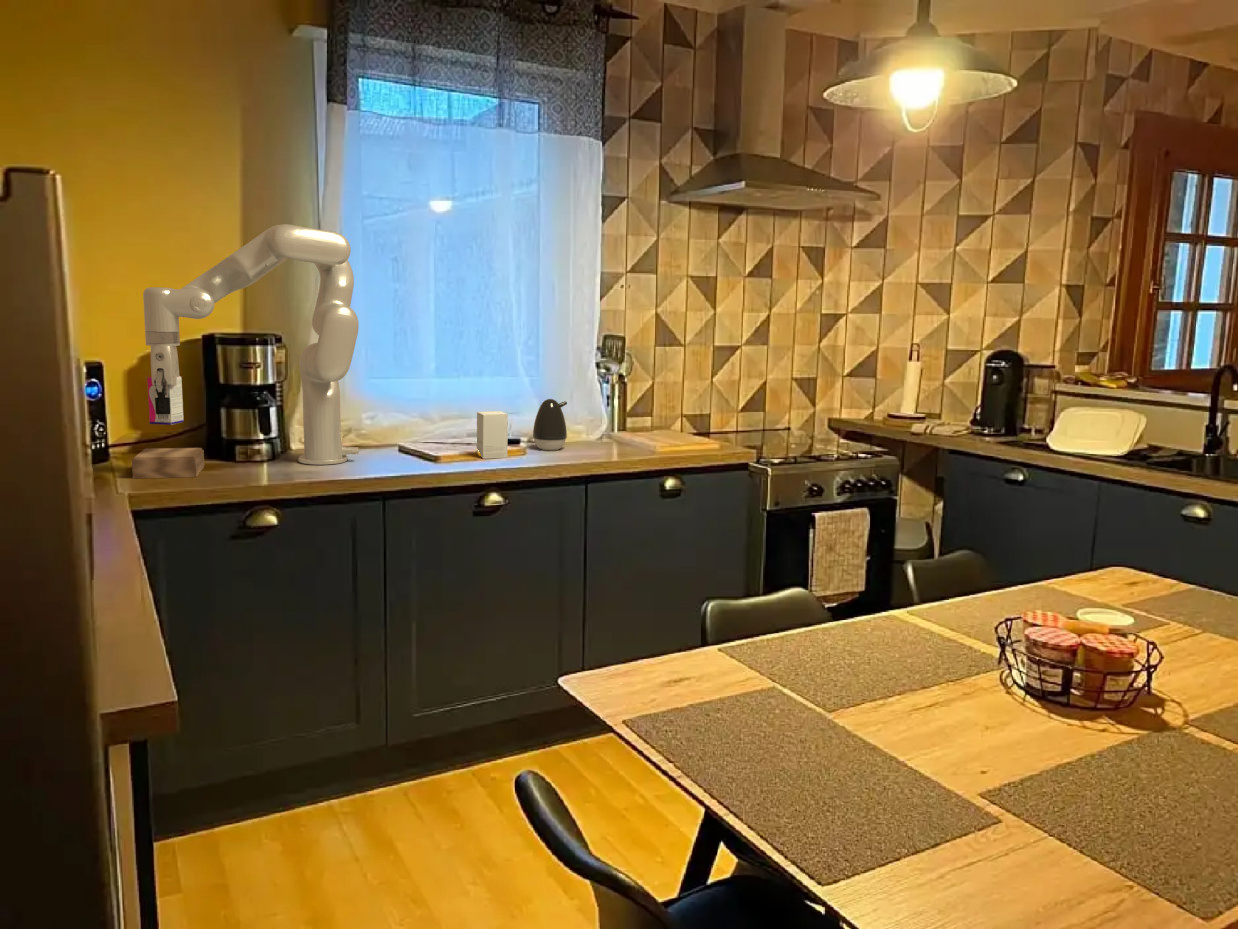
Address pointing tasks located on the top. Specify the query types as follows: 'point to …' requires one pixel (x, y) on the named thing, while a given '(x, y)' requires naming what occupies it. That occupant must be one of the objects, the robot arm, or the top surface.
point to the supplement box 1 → (175, 404)
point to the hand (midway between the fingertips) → (166, 411)
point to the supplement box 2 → (492, 434)
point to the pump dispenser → (550, 426)
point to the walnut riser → (168, 463)
